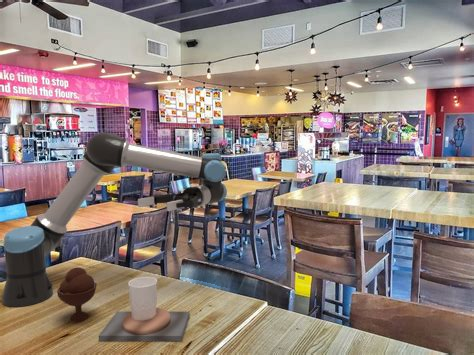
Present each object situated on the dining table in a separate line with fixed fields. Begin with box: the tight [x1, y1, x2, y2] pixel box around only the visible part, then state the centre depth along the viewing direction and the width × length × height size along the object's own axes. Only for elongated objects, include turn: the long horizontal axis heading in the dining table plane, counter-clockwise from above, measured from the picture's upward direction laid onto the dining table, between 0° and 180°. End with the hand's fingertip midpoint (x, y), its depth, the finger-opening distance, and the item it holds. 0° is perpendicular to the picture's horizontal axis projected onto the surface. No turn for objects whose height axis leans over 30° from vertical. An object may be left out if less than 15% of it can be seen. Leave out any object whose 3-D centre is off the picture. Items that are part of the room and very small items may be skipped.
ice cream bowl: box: [56, 266, 98, 323], centre depth 111 cm, size 11×11×15 cm
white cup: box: [127, 276, 158, 321], centre depth 106 cm, size 8×8×10 cm
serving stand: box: [98, 307, 191, 342], centre depth 105 cm, size 22×14×3 cm, turn 89°
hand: (152, 204), depth 121 cm, fingers open, 13 cm apart
